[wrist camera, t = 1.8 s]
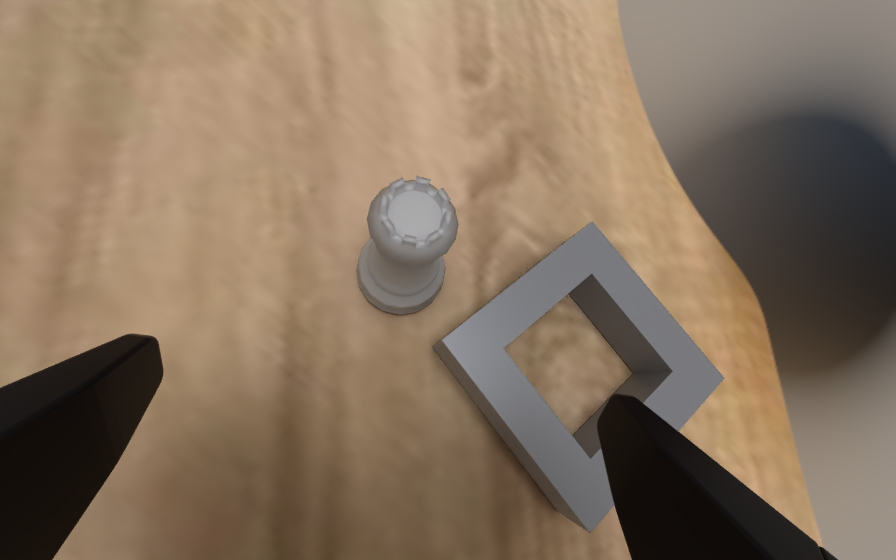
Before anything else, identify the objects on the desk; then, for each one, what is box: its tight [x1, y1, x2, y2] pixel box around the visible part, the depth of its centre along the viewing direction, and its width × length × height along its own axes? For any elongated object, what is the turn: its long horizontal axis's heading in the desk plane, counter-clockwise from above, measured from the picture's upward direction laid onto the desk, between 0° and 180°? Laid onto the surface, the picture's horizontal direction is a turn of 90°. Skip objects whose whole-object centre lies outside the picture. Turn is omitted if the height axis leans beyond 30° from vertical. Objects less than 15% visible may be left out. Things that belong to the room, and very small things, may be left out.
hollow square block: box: [432, 222, 724, 533], centre depth 20 cm, size 10×10×3 cm
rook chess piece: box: [357, 176, 458, 315], centre depth 17 cm, size 4×4×8 cm
